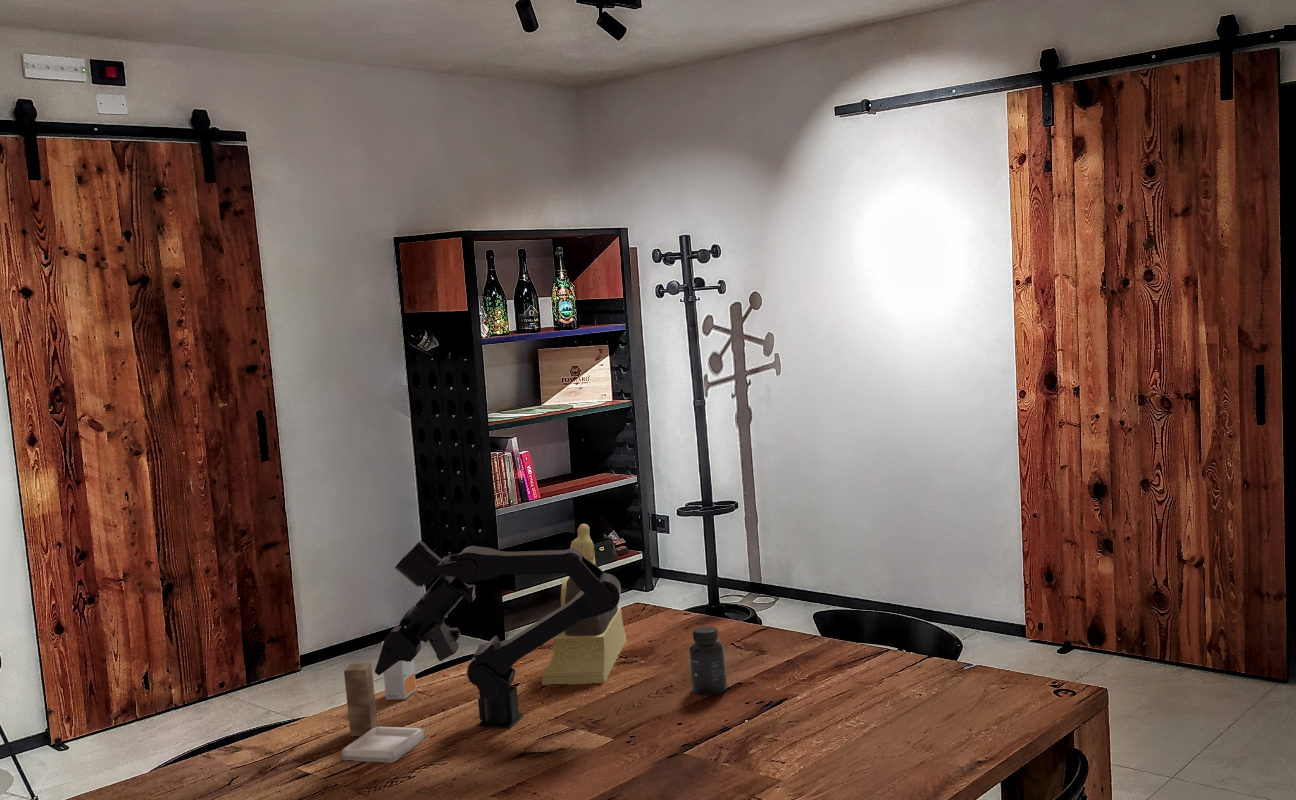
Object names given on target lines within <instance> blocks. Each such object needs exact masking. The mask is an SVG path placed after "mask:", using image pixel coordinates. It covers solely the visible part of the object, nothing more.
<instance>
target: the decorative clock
mask: <svg viewBox="0 0 1296 800" xmlns="http://www.w3.org/2000/svg"><path fill="white" fill-rule="evenodd" d="M590 530H591V529H590V526H589V525H588V524H586V523H581V524H580V525H579V526H578V528H577V530H576V531H577V537H576V538H574V540H572V541H571V543H570V548H569V549H576V550H578V551H579V552H580V553H581V554H582V555H583V556H584V557H585V558H586V559H588V560H589V561H591V562H592V563H593V564H595V565H596V558H595V546H594V545H595V544H594V542H593V540H592V539H591V535H590ZM580 591H581V589H580V588H579V587H578V586H577V585H576V584H575V582H574V581H573V580H572V579H571V578H570V577H569V576H568V577H564V578H563V580H562V584H561V590H560V607H562V606H563V605H565V604H566V603H568V602H570V601H571V600H572V599H573V598H574V597H575V596H576V595H577V594H578V593H579V592H580ZM552 642H553V650H552V655H551V659H550V661H549V664H548V665H547V667H546V669H545V670H544V672H543V673H542V675H541V683H542V684H541V686H552V685H551V684H568V685H592V683H600V684H605V683H604V682H606V681H607V679H608V677H609V675H610V673H611V672H610V671H612V670H611V669H613V668H612V667H614V666H613V665H615V664H616V662H617V660H618V659H619V656H620V655H621V653H622V651H623V649H624V647H623V646H625V645H626V643H627V633H626V629H625V627H624V622H623V615H622V607H619V606H618V605H617V606H616V607H615V608H614V609H613V610H611V611H609V612H607V613H604V614H602V615H599V616H597V617H593V618H589V619H585V620H582V621H580V622H578V623H576V624H575V625H573V626H571V627H570V628H568V629H567V630H565V631H564V632H562V633H560V634H559V635H557V636H556V637H554V638H552ZM625 642H626V643H625ZM624 644H625V645H624ZM622 648H623V649H622ZM621 650H622V651H621ZM620 652H621V653H620ZM619 654H620V655H619ZM618 655H619V656H618ZM616 659H617V660H616ZM615 661H616V662H615ZM614 663H615V664H614ZM605 680H606V681H605ZM587 683H588V684H587ZM590 683H591V684H590ZM549 684H550V685H549Z"/></svg>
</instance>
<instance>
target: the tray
mask: <svg viewBox="0 0 1296 800" xmlns="http://www.w3.org/2000/svg"><path fill="white" fill-rule="evenodd" d="M424 739H425V729H424V728H422V727H421V728H420V727H399V726H397V727H396V726H395V727H394V726H379V725H378V726H375V727H374V728H373V729H371V730H370V731H368V732H367V733H365V734H364V735H363V736H359V737H358V738H357V739H355V740H354V741H352V742H351V743H349V744H348V745H347V746H345V747H344V748H343V749H341V758H342V761H348V760H354V761H353V762H366V763H367V762H369V763H371V762H372V763H386V764H387V763H389V764H393V763H394V762H396V761H398V760H399V759H400V758H402V756H403V755H405V754H407V753H408V752H409V751H410V750H411V749H413V748H414V747H415V746H417V745H418V744H419V743H421V742H422V741H423V740H424Z"/></svg>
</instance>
